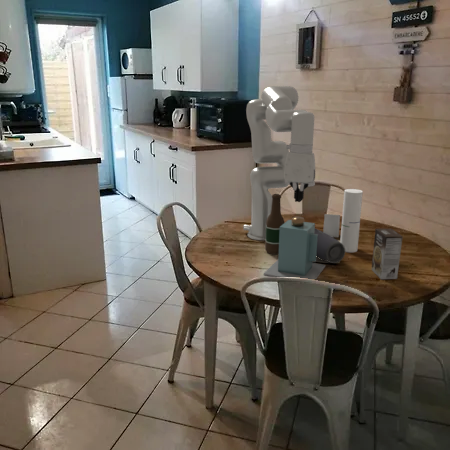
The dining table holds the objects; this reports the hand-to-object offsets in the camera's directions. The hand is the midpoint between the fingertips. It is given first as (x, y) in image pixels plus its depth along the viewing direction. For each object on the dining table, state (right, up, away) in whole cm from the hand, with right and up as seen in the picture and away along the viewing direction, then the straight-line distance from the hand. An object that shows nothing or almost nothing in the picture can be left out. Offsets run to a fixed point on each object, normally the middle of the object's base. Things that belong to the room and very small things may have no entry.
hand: (298, 201), depth 163 cm
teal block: (0, -25, +8) cm, 26 cm away
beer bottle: (-6, -20, +27) cm, 34 cm away
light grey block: (+22, -14, +47) cm, 54 cm away
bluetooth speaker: (+12, -21, +22) cm, 33 cm away
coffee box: (+32, -27, +5) cm, 42 cm away
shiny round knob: (0, -21, +6) cm, 22 cm away
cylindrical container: (+26, -19, +30) cm, 44 cm away
